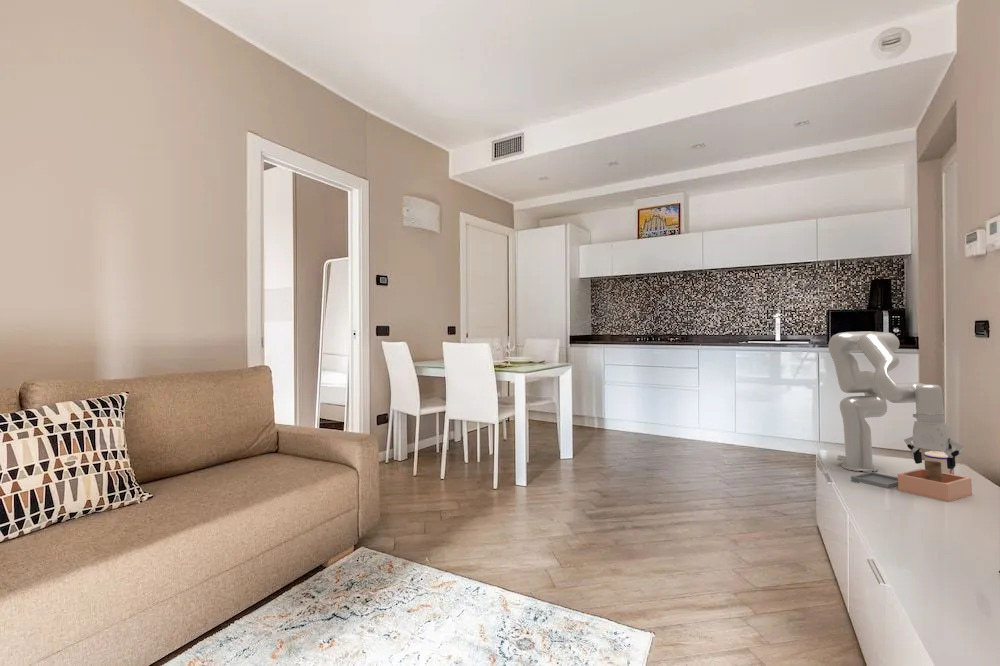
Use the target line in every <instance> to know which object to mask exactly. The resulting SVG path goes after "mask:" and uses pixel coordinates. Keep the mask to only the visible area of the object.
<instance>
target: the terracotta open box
mask: <svg viewBox="0 0 1000 666" xmlns="http://www.w3.org/2000/svg"><path fill="white" fill-rule="evenodd" d="M897 477H898V486H897V487H898V489H897V490H898V491H899V492H905V493H908V494H913V495H918V496H922V497H927V498H931V499H934V500H939V501H944V502H947V503H950V502H953V501H955V500H960V499H962V498H966V497H969V496H972V495H973V488H972V486H973V485H972V478H971V477H968V476H962V475H956V474H954V475H953V474H947V473H942V482H937V481H932V480H927V479H926V478H925V468H918V469H914V470H909V471H904V472H901V473H898V474H897Z"/></svg>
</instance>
